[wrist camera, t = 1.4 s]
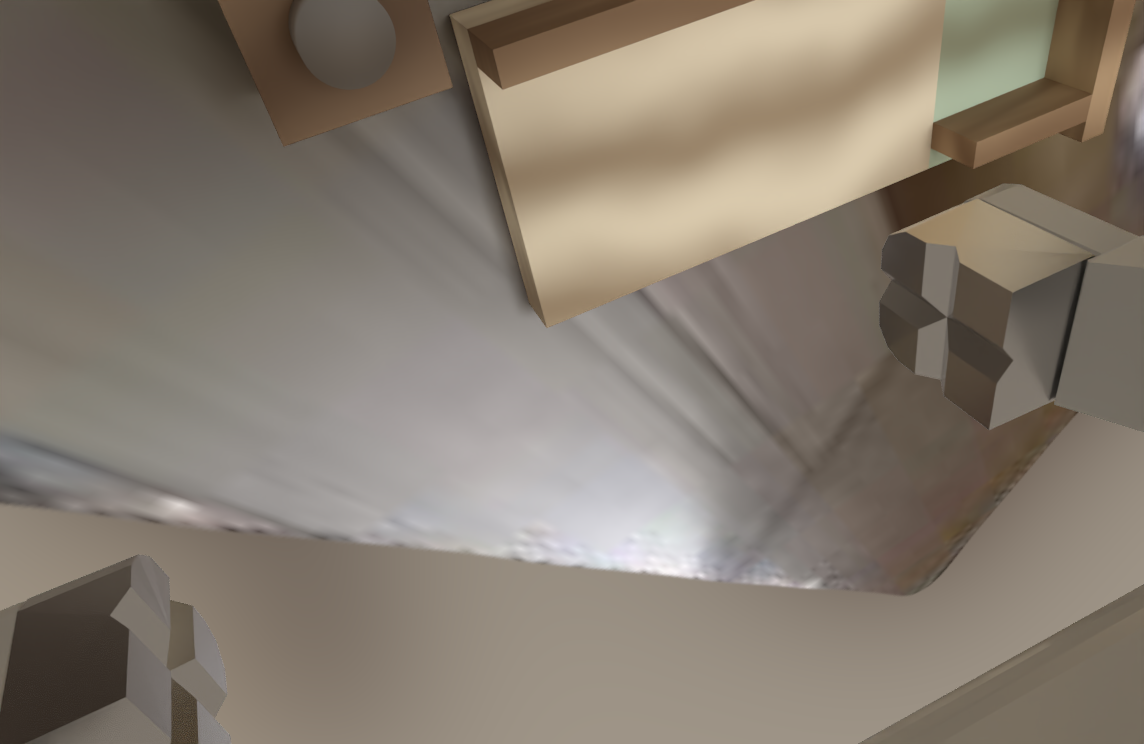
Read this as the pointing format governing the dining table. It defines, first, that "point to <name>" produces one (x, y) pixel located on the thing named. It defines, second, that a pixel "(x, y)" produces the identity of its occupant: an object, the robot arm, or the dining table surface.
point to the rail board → (752, 116)
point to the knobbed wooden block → (336, 58)
